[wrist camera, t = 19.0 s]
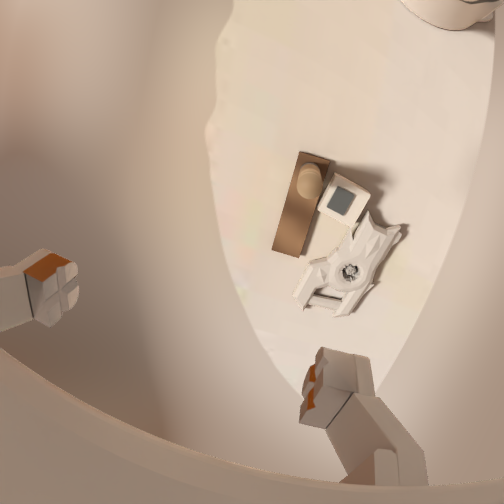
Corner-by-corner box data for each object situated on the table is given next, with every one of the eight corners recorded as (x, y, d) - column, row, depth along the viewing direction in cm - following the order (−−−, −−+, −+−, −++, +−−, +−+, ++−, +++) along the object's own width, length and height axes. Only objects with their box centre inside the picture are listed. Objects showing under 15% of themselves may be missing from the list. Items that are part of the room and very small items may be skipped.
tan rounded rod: (302, 159, 38) (300, 170, 30) (322, 165, 38) (326, 178, 30) (297, 178, 39) (293, 194, 31) (316, 184, 39) (318, 202, 31)
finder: (334, 172, 39) (336, 176, 36) (367, 189, 39) (371, 195, 36) (317, 204, 41) (317, 211, 38) (349, 221, 41) (352, 229, 38)
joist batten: (299, 151, 39) (299, 152, 38) (329, 160, 39) (329, 161, 38) (272, 247, 45) (271, 249, 44) (299, 255, 45) (298, 258, 44)
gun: (343, 202, 37) (409, 234, 37) (341, 194, 40) (403, 224, 40) (286, 310, 46) (345, 332, 46) (288, 297, 49) (344, 319, 49)
